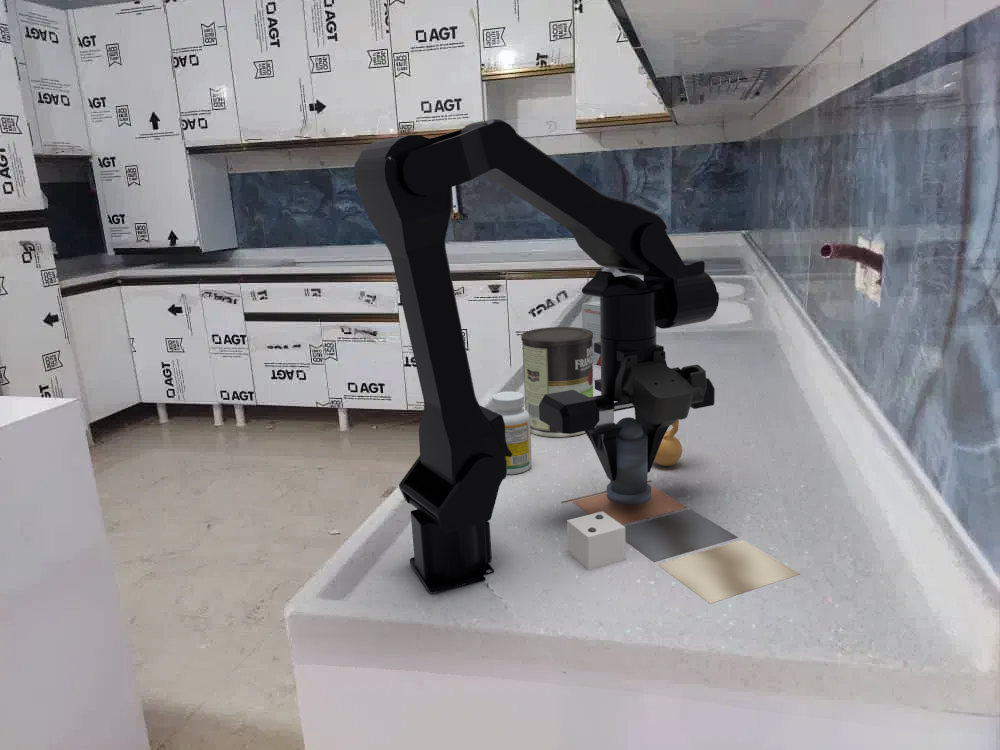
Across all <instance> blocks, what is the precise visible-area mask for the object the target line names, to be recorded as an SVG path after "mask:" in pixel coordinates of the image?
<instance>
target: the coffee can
mask: <svg viewBox="0 0 1000 750" xmlns="http://www.w3.org/2000/svg"><path fill="white" fill-rule="evenodd" d="M520 338H521V341H522V359H523V360H522V361H523V362H522V363H523V384H524V385H523V386H524V387H523V388H524V406H525V408H524V409H525V410H526V411H527V412H528V413H529V415H530V431H531V434H533V435H537V436H540V437H546V438H547V437H548V438H569V437H576V436H580V435H581V436H582V435H584V434H586V433H585V431H583V432H578V433H573V434H565V433H561V432H560V431H558V430H556V429H554V428H553V427H551V426H549V425H548V424H546V423H544V422H543V421H541V420H539V404H540V402H541V400H542V399H543V397H544V395H545V394H551V393H557V392H562V391H568V390H575V391H577V392H579V393H581V394H583V395H585V396H588V397H594V374H593V373H594V364H593V354H592V338H593V332H592V331H590V330H587V329H583V328H582V327H576V326H575V327H573V326H553V327H541V328H535V329H530V330H528V331H524V332H522V333H521V336H520Z"/></svg>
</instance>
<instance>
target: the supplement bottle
mask: <svg viewBox="0 0 1000 750" xmlns="http://www.w3.org/2000/svg"><path fill="white" fill-rule="evenodd" d="M491 399H492V400H491V404H492V405H491V406H492V407H493V410H492V411H493V412H496V413H498V414H500V415H502V416H503V420H504V423H505V438H506V443H507V446H508V448H509V450H510V451H511V453H512V456H511V457H507V456H506V460H507V474H506V475H517V474H521V473H524V472H527V471H528V470H529V469H531V467H532V463H533V461H532V460H533V459H532V437H531V435H532V433H531V431H530V415H529V413H528V412H527V411H526V410H525V408H524V406H525V394H523V393H522V392H518V391H501V392H497V393H494V394H492V396H491Z"/></svg>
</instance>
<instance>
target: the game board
mask: <svg viewBox="0 0 1000 750" xmlns="http://www.w3.org/2000/svg"><path fill="white" fill-rule="evenodd" d="M651 482H653V480H647V483H648V484H649V483H651ZM649 485H650V486H651V499H650V500H649V501H648V502H646V503H644V504H640V505H621V504H616V503H614V502H612V501H610V500H609V499H608V498H607V490H604V491H600V492H595V493H593V494H588V495H583V496H579V497H575V498H572V499H567V500H563V501H561V504H565V503H569V502H572V503H573V504H575V505H576V506H577V507H579V508H580V509H581V510H583V511H584V512H586V513H587V515H590V514H594V513H598V512H602V511H603V512H604V513H606V514H607V515H609V516H610V517H611V518H613V519H614V520H616V521H617V522H618V523H620V524H621V525H623V526H624V527H625V543H627V544H629V546H631V547H633V548H634V549H636V551H638V552H640V553H641V554H642V555H643V556H644V557H646V558H647V559H649V560H650V561H652V562H653V563H655V562H656V563H657V562H659V561H663V560H667V559H670V558H673V557H676V556H680V555H683V554H686V553H690V552H691V553H692V552H694V551H697V550H700V549H704V548H708V547H711V546H714V545H717V544H721V543H725V542H728V541H731V540H736V539H738V538H739V536H737V535H735V534H734V533H732V532H730V531H728V530H727V529H725V528H724V527H722V526H720V525H719V524H717V523H715V522H713V521H711V520H710V519H708V518H707V517H706V516H703V515H702V514H700V513H698V512H696V511H695V510H693V509H692V508H690V509H687V508H688V506H686V505H684V504H683V503H682V502H679V501H678V500H677V499H675V498H673V497H671V496H669V495H668V494H666V493H664V492H663V491H661V490H659V489H657V488H656V487H654V486H652V484H649ZM683 509H686V510H683ZM678 510H683V511H678ZM676 511H678V512H676ZM671 512H676V513H671ZM667 513H670V514H668V515H664V514H667ZM660 515H662V516H660ZM663 515H664V516H663ZM657 516H660V517H657ZM652 517H655V518H653V519H649V518H652ZM645 519H649V520H645ZM640 520H643V521H640ZM637 521H640V522H637ZM633 522H637V523H633ZM629 523H633V524H629ZM625 524H628V525H627V526H626V525H625ZM657 566H658V567H659V568H661V569H662V570H663V571H665V572H666V573H668V574H669V575H670V576H671V577H673V578H675V579H676V580H677V581H678V582H679V583H681V584H682V585H683V586H685V587H686V588H687V589H689V590H690V591H692V592H693V593H694V594H696V595H697V596H699V597H700V598H701V599H702V600H704V601H706V602H707V603H708V604H710V605H712V604H714V603H717V602H720V601H723V600H726V599H730V598H733V597H736V596H739V595H741V594H742V595H743V594H744V593H748V592H751V591H754V590H757V589H759V588H763V587H766V586H769V585H773V584H775V583H778V582H781V581H784V580H787V579H790V578H793V577H797V576H800V575H801V573H800V572H798V571H797V570H794V569H793V568H792V567H789V566H788V565H786V564H784V563H783V562H781V561H779V560H777V559H776V558H774V557H773V556H771V555H770V554H767V553H766V552H764V551H763V550H761V549H759V548H757V547H756V546H754V545H753V544H751V543H750V542H747V541H746V540H743V539H741V540H737V541H733V542H730V543H726V544H723V545H720V546H717V547H712V548H709V549H706V550H704V551H700V552H696V553H693V554H688V555H685V556H683V557H680V558H675V559H672V560H669V561H665V562H663V563H658V564H657Z"/></svg>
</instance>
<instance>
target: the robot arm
mask: <svg viewBox="0 0 1000 750" xmlns="http://www.w3.org/2000/svg"><path fill="white" fill-rule="evenodd" d="M353 175H354V176H353V177H354V184H355V187H356V190H357V192H358V194H359V197H360V199H361V202H362V204H363V206H364V209H365V212H366V214H367V217H368V219H369V221H370V223H371V224H372V226H373V227H374V229H375V230H376V232H377V234H378V235H379V237H380V239H382V242H383V243H384V245H385V247H386V248H387V250H388V251H389V253H390V257H391V262H392V265H393V269H394V275H395V279H396V283H397V288H398V291H399V297H400V301H401V306H402V309H403V313H404V314H403V315H404V319H405V322H406V328H407V332H408V336H409V340H410V344H411V348H412V349H411V350H412V354H413V358H414V363H415V367H416V372H417V377H418V381H419V386H420V389H421V393H422V394H421V395H422V399H423V410H422V414H421V419H420V423H419V426H418V427H419V428H418V440H419V441H418V442H419V444H418V445H419V456H418V457H417V459H416V460H415V462H414V463H413V465H412V466H411V467H410V468H409V469H408V471H407V472H406V474H405V475H404V477H403V478H402V479H401V481H400V482H399V484H398V489H399V491H400V493H401V494H402V497H403V498H404V500H405V502H407V503H408V504H411V506H412V507H414V508H415V509H413V510H411V511H410V520H411V521H410V522H411V532H412V533H411V534H412V546H413V554H414V555H413V557H411V558H409V565H410V567H411V568H412V570H413V572H415V574H416V576H417V577H418V578H419V580H420V581H421V582H422V583H421V584H423V586H424V588H426V590H427V592H428V593H432V594H434V593H438V592H441V591H445V590H449V589H452V588H457V587H461V586H465V585H468V584H471V583H474V582H478V581H482V580H485V579H486V577H485V576H488V575H492V574H494V573H495V569H494V568H493V567H492V565H490V562H491V561H492V542H491V541H492V539H491V522H490V521H491V519H492V516H493V512H494V509H495V506H496V505H495V504H496V501H497V497H498V493H499V490H500V486H501V484H502V482H503V480H505V479H506V477H507V475H508V474H507V460H506V456H507V457H511V456H512V453H511V451H510V450H509V448H508V446H507V443H506V438H505V423H504V420H503V416H502V415H500V414H498V413H496V412H493V410H491V409H489V408H487V407H484V406H482V405H480V404H479V402H478V400H477V397H476V396H477V395H476V393H475V388H474V383H473V378H472V373H471V367H470V363H469V358H468V353H467V348H466V343H465V338H464V333H463V328H462V323H461V319H460V313H459V307H458V303H457V298H456V293H455V289H454V284H453V282H454V281H453V279H452V273H451V268H450V264H449V259H448V253H447V249H446V242H447V241H446V240H447V236H448V230H449V227H450V226H449V225H450V221H451V217H452V213H453V192H452V191H453V190H452V189H453V187H456V186H459V185H461V184H464V183H467V182H470V181H472V180H474V179H476V178H478V177H480V176H482V175H484V176H485V177H487V178H489V179H491V181H493V182H495V183H497V184H498V185H499V186H501V187H502V188H504V189H506V190H507V191H509V192H510V193H512V194H514V196H517V197H518V198H520V199H522V200H523V201H525V202H526V203H528V204H529V205H531V206H532V207H534V208H535V209H537V210H539V212H541V213H543V214H545V215H546V216H548V217H549V218H551V219H552V220H553V221H555V222H557V223H559V224H560V225H562V226H563V227H564V228H566V229H567V230H568V231H569V232H570V233H571V234H572V235H573V238H574V240H575V242H576V243H577V246H578V248H580V249H581V250H582V251H583V252H584V253H585V254H586V255H588V257H589V258H590V259H591V260H593V262H595V263H596V264H597V265H599V266H601V267H604V268H610V269H616V270H618V271H619V272H620V273H622V274H625V275H618V276H615V274H614V273H613V272H611V271H606V270H605V271H604V270H597V271H596V272H595V274H594V275H593V277H592V278H591V279H590V280H589V281H588V282H586V283H585V285H583V287H582V289H581V293H582V294H583V295H587V296H591V297H596V298H597V297H599V301H600V342H596V343H594V352H596V353H598V354H601V365H600V378H598V379H594V390H596V391H599V392H600V395H593V397H588V396H585V395H583V394H581V393H579V392H577V391H575V390H568V391H562V392H557V393H551V394H545V395H544V397H543V399H542V400H541V402H540V404H539V420H541V421H543V422H544V423H546V424H548V425H549V426H551V427H553V428H554V429H556V430H558V431H560V432H561V433H565V434H573V433H578V432H583V431H585V433H584V434H586V436H587V438H588V439H589V441H590V443H591V445H592V447H593V450H594V451H595V453H596V456H597V458H598V460H599V462H600V464H601V467H602V468H603V471H604V473H605V475H606V477H607V479H609V481H610V480H612V481H614V480H616V473H617V451H616V437H617V435H618V434H619V432H620V431H621V429H622V427H621V426H619V425H617V423H615V422H614V421H615V419H614V418H615V416H614V415H615V414H614V413H615V412H618V411H623V410H629V409H634V419H636V420H637V421H639V422H640V424H641V425H642V428H643V432H644V433H646V434H647V435H648V473H651V469H652V467H653V465H654V462H655V461H654V460H655V457H656V454H657V452H658V449H659V447H660V444H661V442H662V439H663V437H664V435H665V433H666V432H667V431H668V430H669V429H668V428H669V427H670V426H672V424H673V423H674V422H675V421H677V420H680V421H681V420H685V419H687V418H688V416H689V413H690V409H694V410H697V409H701V408H706V407H711V406H715V404H716V403H715V400H716V399H715V397H716V388H715V387H714V385H713V383H712V381H711V380H710V378H707V374H706V372H707V371H706V369H704V368H703V367H701V365H700V364H693V365H686V366H683V367H682V368H680V367H678V366H677V367H673V368H672V367H669V366H668V364H667V360H666V351H665V350H664V349H665V346H663V345H660V344H657V328H659V329H671V328H675V327H681V326H685V325H691V324H697V323H701V322H706V321H708V320H710V319H711V318H712V317H713V316H714V315H715V313H716V311H717V310H718V307H719V302H720V292H718V291H717V286H716V284H715V281H714V280H713V278H712V277H711V276H710V275H709V274H708V273H707V272H706V271H705V264H706V263H705V261H704V260H696V259H695V260H694V259H688V260H687V259H686V260H683V259H682V258H681V256H680V254H679V253H678V251H677V249H676V247H675V245H674V244H673V242H672V240H671V239H670V236H669V234H668V233H667V228H668V225H667V224H666V222H665V220H664V219H663V218H662V217H661V216H660V214H657V213H656V212H653V211H652V210H649V209H647V208H644V207H642V206H639V205H637V204H634V203H632V202H628V201H624V200H620V199H618V198H617V199H616V198H613V197H610V196H608V195H607V194H606V195H605V194H604V193H601V192H600V191H599V190H598V189H596V188H595V187H593V186H592V185H590V184H589V183H587V181H585V180H583V179H582V178H581V177H579V176H577V175H576V173H574V172H572V171H571V170H569V169H568V168H566V167H565V166H564V165H562V164H561V163H559V162H558V161H557V160H555V158H552V157H551V156H549V155H548V154H546V153H545V152H544V151H542V150H541V149H540V148H538V147H537V146H536V145H534V144H533V143H531V142H529V141H528V140H527V139H525V138H524V137H522V136H521V135H520V134H518V133H517V131H516V130H515V128H514V127H513V126H512V125H511V124H509V123H507V122H506V121H504V120H501V118H500V119H495V118H494V119H493V118H492V119H486V120H482V121H476V122H471V123H470V124H467V125H465V126H464V127H463V128H460V129H457V130H454V131H452V132H448V133H444V134H439V135H437V136H433V137H430V138H429V137H426V136H423V135H420V134H415V135H414V134H411V135H410V134H409V135H408V134H407V135H403V136H402V135H401V136H397V137H392V138H386V139H381V140H378V141H377V140H376V141H374V142H372V143H369V145H367V146H366V147H365V148H364V149H362V151H361V152H360V154H359V156H358V158H357V161H355V162H354V168H353ZM637 275H638V276H637ZM639 276H643V279H641V278H640V277H639Z"/></svg>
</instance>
